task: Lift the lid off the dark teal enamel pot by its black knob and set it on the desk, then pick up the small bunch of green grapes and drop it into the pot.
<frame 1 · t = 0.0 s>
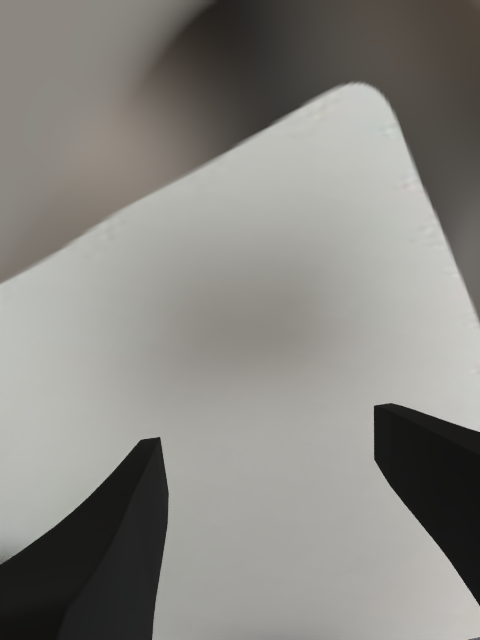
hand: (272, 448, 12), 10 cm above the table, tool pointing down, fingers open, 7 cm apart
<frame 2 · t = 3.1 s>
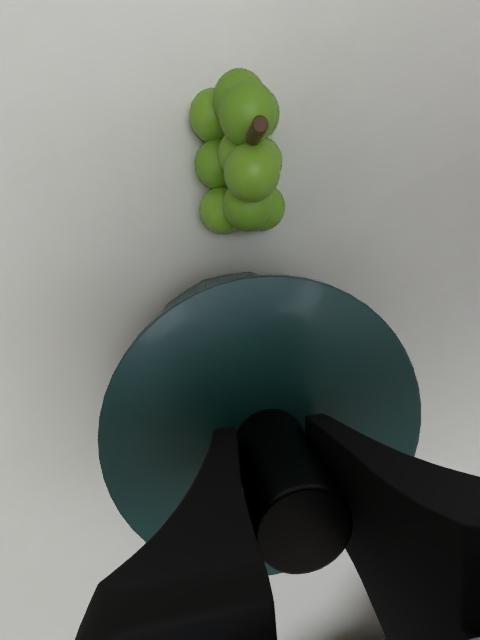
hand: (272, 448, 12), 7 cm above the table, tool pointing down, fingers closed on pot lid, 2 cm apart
pot: (242, 373, 18), on the table
pot lid: (265, 432, 13), point 6 cm above the table, touching gripper, pot
grapes: (236, 168, 16), on the table
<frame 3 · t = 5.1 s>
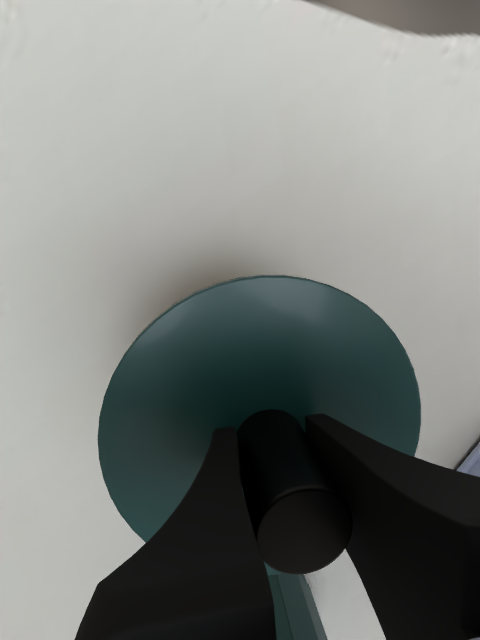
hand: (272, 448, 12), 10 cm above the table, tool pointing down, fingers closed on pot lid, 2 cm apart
pot: (240, 608, 26), on the table
pot lid: (265, 433, 13), point 9 cm above the table, touching gripper
when the fingers open (2 cm above the table, at t = 7.3 s): pot lid stays where it is, point 1 cm above the table.
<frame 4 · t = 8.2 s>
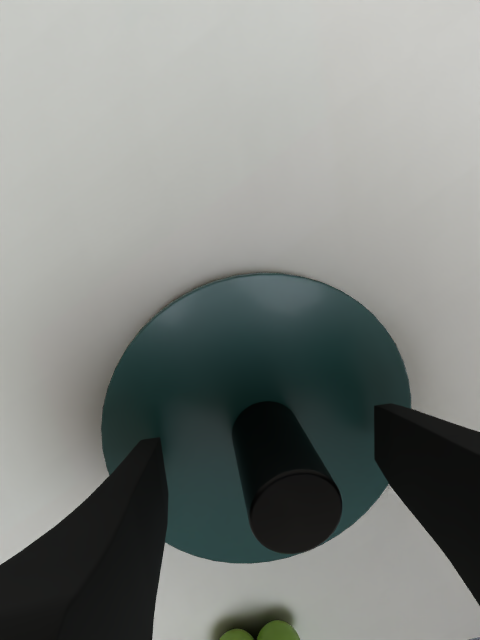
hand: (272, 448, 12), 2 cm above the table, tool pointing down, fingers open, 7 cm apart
pot lid: (262, 424, 13), point 1 cm above the table
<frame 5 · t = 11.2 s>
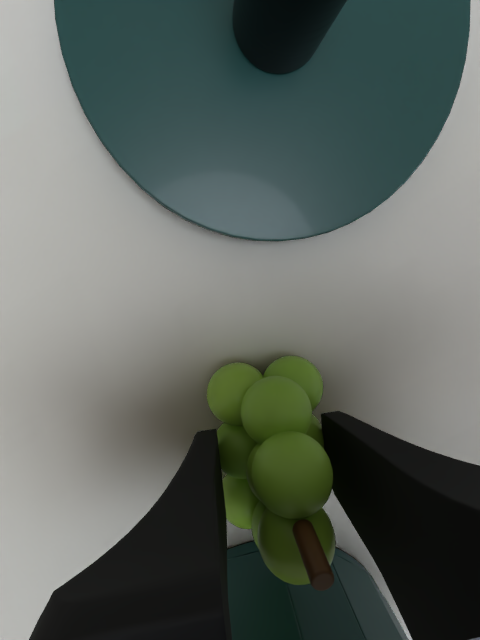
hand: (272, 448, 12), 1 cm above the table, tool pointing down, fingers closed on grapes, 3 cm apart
pot lid: (273, 35, 10), point 1 cm above the table
grapes: (263, 427, 13), on the table, touching gripper
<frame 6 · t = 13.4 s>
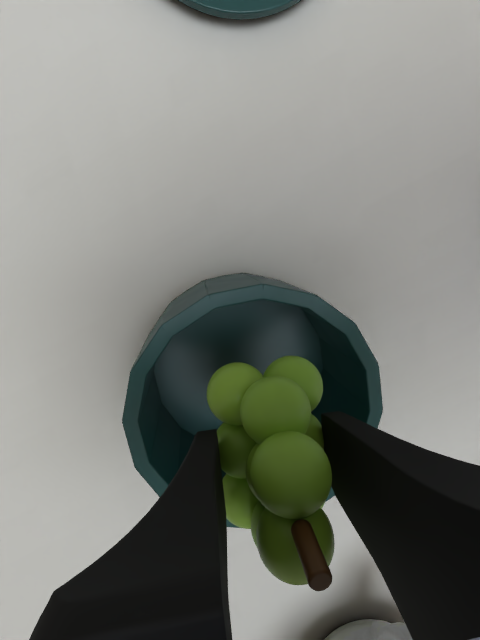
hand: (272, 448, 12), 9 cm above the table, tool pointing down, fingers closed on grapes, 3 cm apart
pot: (239, 366, 20), on the table
teacup: (359, 633, 25), on the table
grapes: (263, 427, 13), point 7 cm above the table, touching gripper
when the fingers open (4 cm above the table, at t = 16.1 s): grapes stays where it is, resting on pot.
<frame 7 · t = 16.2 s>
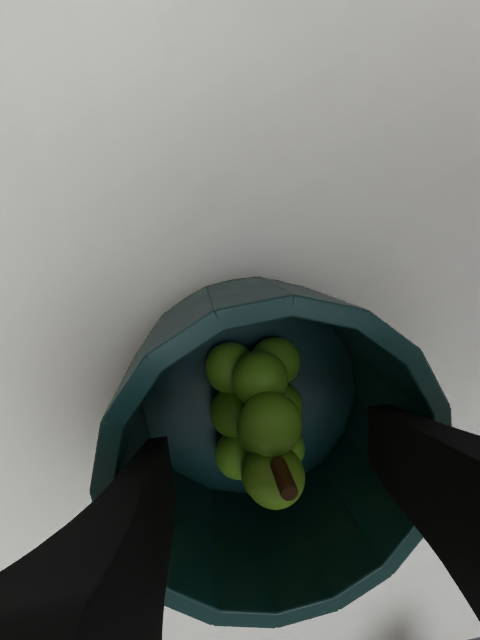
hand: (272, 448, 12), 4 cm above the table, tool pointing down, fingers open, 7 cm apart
pot: (250, 393, 16), on the table
grapes: (252, 398, 15), resting on pot
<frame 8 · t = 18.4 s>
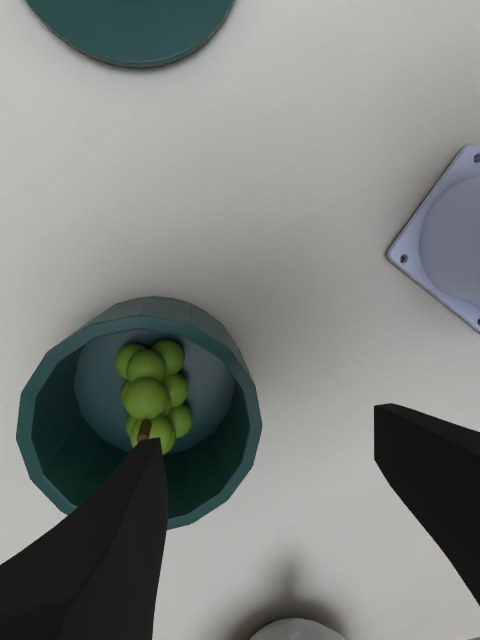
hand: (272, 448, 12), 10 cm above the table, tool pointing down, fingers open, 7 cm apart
pot: (157, 381, 21), on the table
teacup: (287, 631, 27), on the table
grapes: (156, 384, 21), resting on pot
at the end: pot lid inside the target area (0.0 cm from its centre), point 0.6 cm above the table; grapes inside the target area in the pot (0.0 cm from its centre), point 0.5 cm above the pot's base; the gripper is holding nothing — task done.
